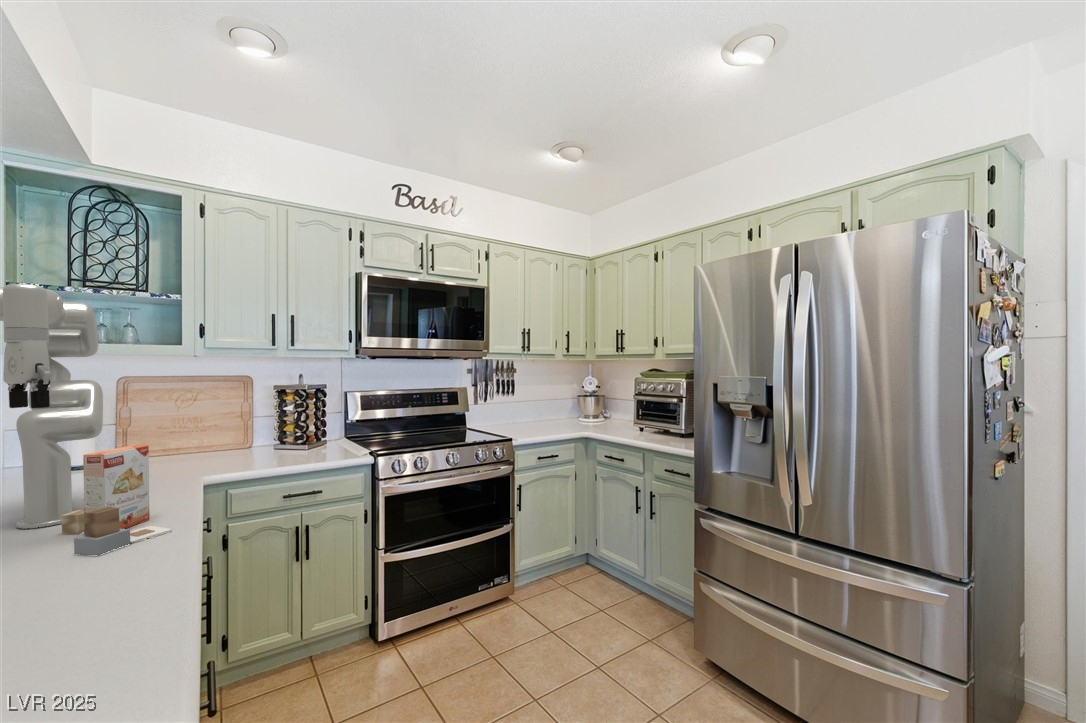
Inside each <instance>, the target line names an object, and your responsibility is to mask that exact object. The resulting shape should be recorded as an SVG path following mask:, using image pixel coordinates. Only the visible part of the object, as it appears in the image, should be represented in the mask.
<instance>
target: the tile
mask: <svg viewBox="0 0 1086 723" xmlns="http://www.w3.org/2000/svg"><path fill="white" fill-rule="evenodd" d="M172 532H173V529H172V528H166V527H160V526H155V525H154V526H152V525H147V526H145V527H141V528H138V529H134V530H130V543H133V542H136V543H138V542H137V541H140V540H143V541H145V540H144V539H146V540H148V539H147V538H149V539H152V538H151V537H153V538H155V536H156V537H159V536H162V535H166V534H168V533H172ZM158 535H159V536H158ZM140 542H141V541H140ZM133 544H134V543H133Z"/></svg>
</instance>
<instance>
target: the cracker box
mask: <svg viewBox="0 0 1086 723" xmlns="http://www.w3.org/2000/svg"><path fill="white" fill-rule="evenodd" d="M82 456H83V457H82V459H83V460H82V461H83V506H84V507H83V510H84V512H87V511H91V510H95V509H99V508H103V507H115V508H119V523H120V529H125V528H126V529H129V528H131V527H133V526H135V525H138V524H141V523H144V522H145V521H146V522H147V521H149V520H150V519H151V518H150V517H151V516H150V515H151V514H150V466H149V464H150V460H149V459H150V454H149V445H145V444H144V445H143V444H142V445H139V444H138V445H126V446H123V447H121V446H120V447H116V448H111V449H107V450H106V449H105V450H100V451H95V452H90V453H85V454H83V455H82Z"/></svg>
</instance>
